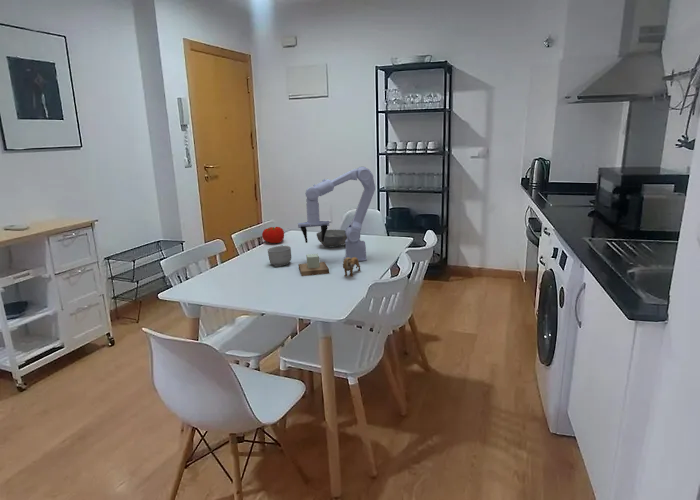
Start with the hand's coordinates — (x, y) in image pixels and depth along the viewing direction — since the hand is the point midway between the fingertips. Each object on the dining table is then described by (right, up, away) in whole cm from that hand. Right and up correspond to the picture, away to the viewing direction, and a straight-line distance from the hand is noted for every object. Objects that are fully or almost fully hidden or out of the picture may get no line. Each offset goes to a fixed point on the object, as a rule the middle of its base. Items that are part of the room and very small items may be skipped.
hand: (314, 241), depth 216 cm
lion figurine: (+18, -15, -18) cm, 29 cm away
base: (0, -13, -11) cm, 17 cm away
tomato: (-26, 0, +44) cm, 51 cm away
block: (0, -11, -12) cm, 16 cm away
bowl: (+8, -2, +31) cm, 32 cm away
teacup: (-16, -10, +2) cm, 19 cm away
